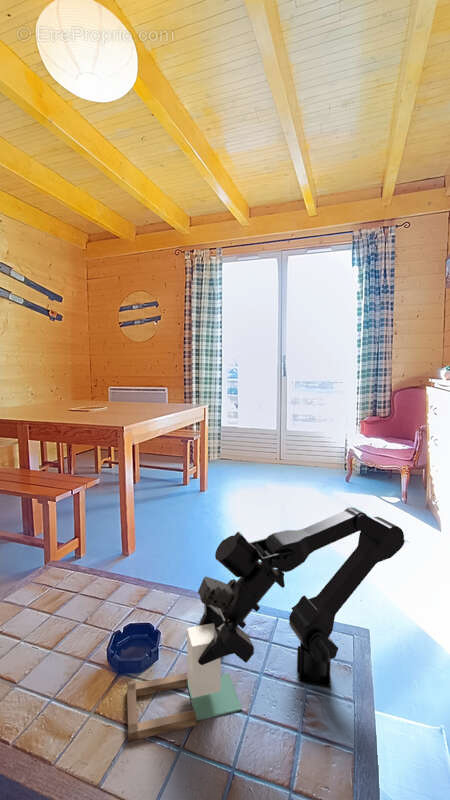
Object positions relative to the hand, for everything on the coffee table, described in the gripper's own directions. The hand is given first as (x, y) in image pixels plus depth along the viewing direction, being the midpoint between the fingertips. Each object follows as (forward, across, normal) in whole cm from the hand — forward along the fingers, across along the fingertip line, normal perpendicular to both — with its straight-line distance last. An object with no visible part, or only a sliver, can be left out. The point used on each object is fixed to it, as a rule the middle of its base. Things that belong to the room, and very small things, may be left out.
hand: (196, 652), depth 72 cm
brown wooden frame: (+12, 0, +2) cm, 12 cm away
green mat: (+4, 0, +9) cm, 10 cm away
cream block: (+4, 0, +6) cm, 7 cm away
